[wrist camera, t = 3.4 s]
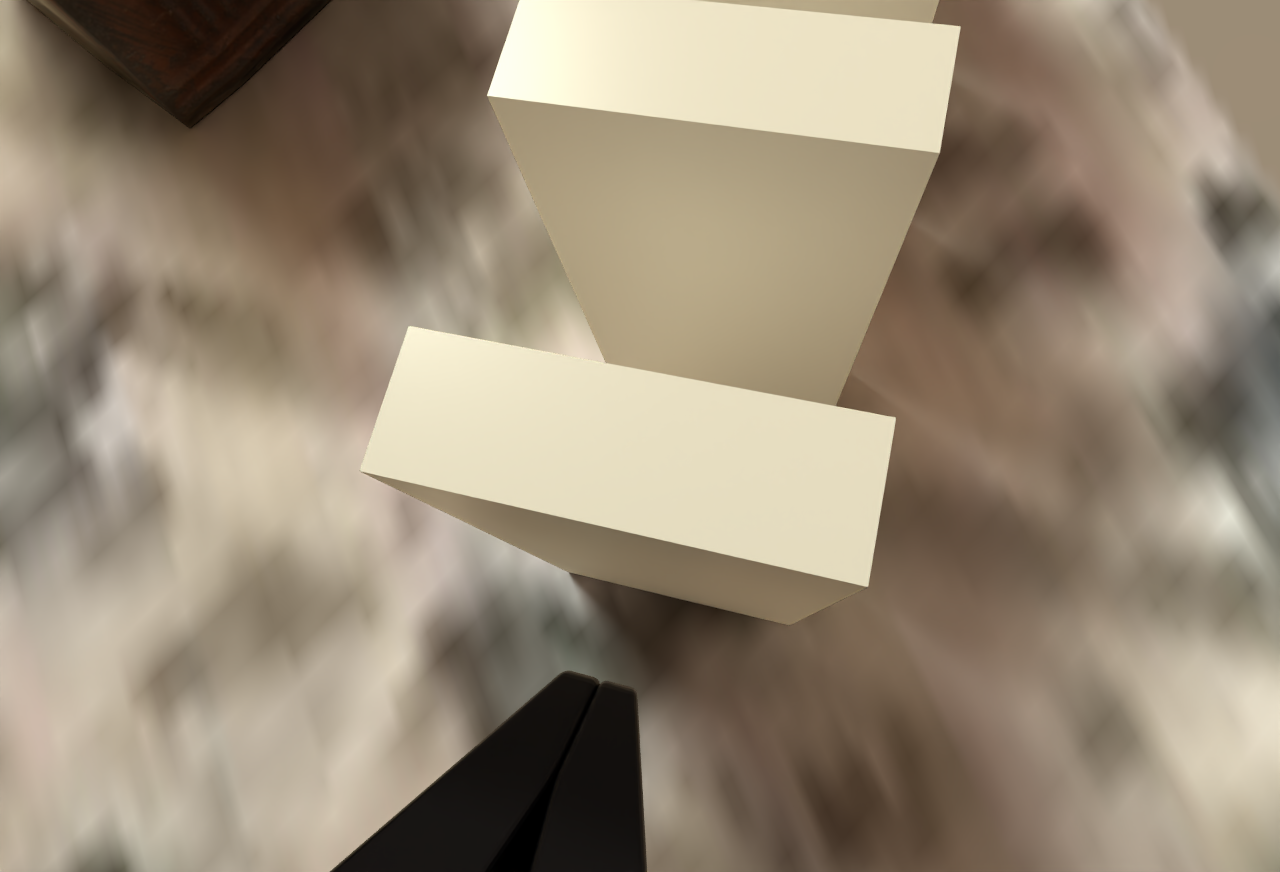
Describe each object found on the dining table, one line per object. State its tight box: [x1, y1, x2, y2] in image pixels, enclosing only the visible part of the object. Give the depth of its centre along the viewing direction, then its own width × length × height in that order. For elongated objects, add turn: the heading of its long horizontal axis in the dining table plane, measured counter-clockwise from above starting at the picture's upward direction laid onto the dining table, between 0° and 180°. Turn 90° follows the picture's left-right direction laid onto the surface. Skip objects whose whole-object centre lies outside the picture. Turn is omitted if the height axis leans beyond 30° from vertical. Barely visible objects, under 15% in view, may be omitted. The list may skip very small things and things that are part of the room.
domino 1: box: [487, 0, 961, 406], centre depth 13 cm, size 2×5×10 cm, turn 76°
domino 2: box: [360, 326, 896, 625], centre depth 12 cm, size 2×5×10 cm, turn 76°
